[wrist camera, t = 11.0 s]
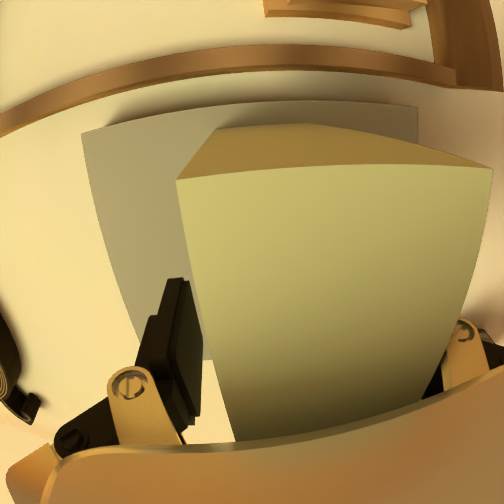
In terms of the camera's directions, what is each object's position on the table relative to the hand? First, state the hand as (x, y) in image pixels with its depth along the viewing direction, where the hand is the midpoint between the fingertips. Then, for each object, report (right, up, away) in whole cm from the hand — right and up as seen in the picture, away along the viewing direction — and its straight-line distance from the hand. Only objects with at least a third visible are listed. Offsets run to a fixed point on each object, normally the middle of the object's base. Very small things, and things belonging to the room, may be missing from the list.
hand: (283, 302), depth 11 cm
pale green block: (0, +2, +4) cm, 4 cm away
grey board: (-1, +3, +6) cm, 7 cm away
